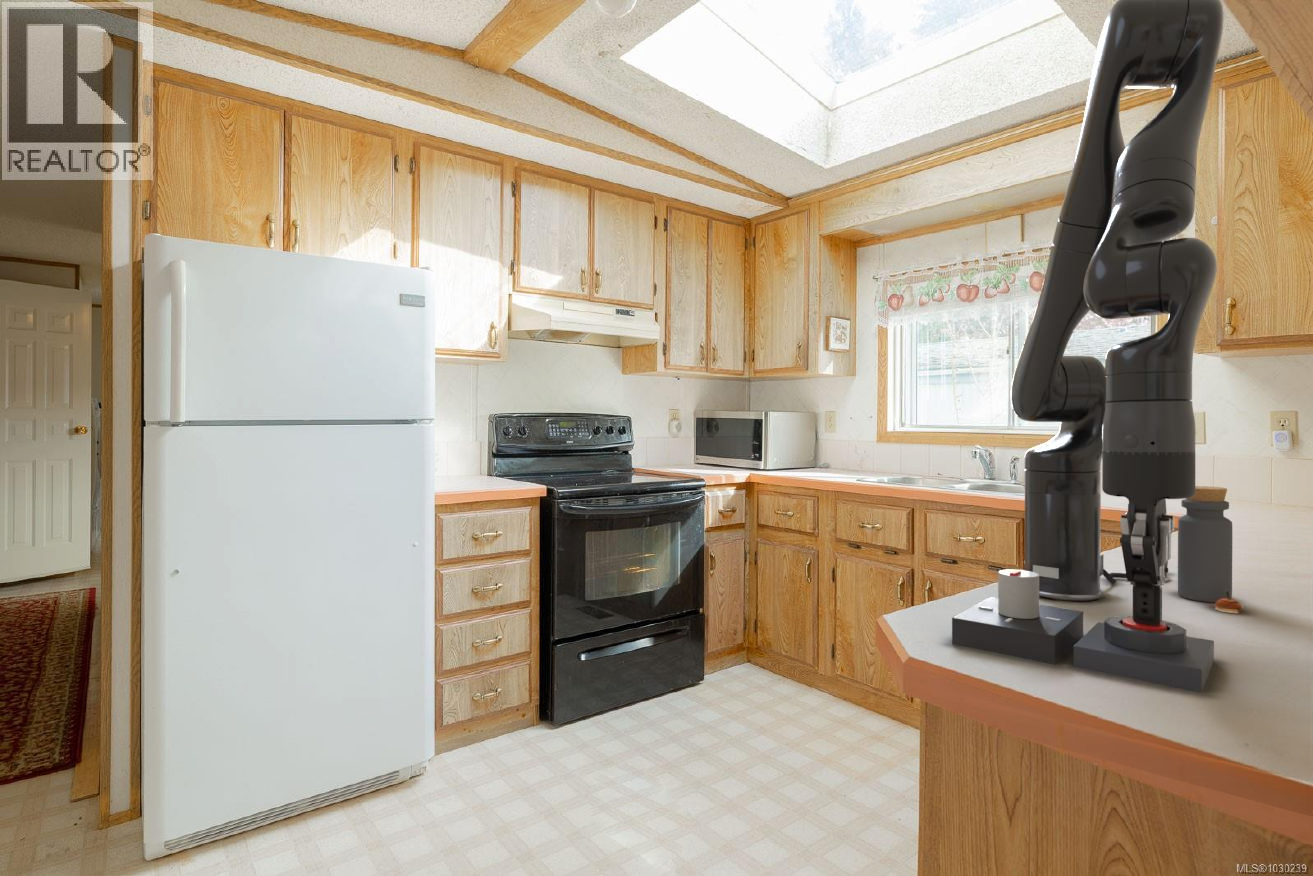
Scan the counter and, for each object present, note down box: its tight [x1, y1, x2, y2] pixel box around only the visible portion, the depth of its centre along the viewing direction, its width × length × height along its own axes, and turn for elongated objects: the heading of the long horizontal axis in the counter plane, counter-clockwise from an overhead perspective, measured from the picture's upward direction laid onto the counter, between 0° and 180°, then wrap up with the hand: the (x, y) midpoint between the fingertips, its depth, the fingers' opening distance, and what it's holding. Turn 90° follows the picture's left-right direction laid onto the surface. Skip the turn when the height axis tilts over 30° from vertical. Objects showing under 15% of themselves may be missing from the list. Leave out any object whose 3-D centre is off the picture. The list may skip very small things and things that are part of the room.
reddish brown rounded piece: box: [1214, 589, 1243, 614], centre depth 89 cm, size 3×3×3 cm
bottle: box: [1177, 485, 1233, 603], centre depth 96 cm, size 6×6×15 cm
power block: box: [1072, 615, 1215, 693], centre depth 70 cm, size 11×10×4 cm
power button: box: [1123, 618, 1167, 631], centre depth 70 cm, size 4×4×2 cm
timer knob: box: [997, 569, 1040, 619], centre depth 77 cm, size 4×4×5 cm
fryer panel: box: [951, 596, 1084, 666], centre depth 78 cm, size 12×10×3 cm
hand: (1147, 623), depth 70 cm, fingers closed
